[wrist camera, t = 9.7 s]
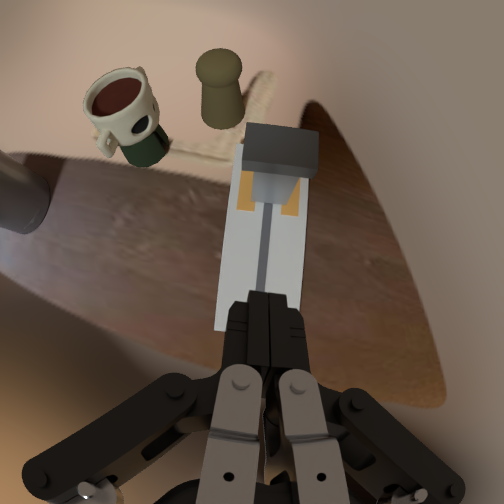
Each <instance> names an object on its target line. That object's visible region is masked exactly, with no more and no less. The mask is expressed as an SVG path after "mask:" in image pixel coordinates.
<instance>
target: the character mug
mask: <svg viewBox="0 0 504 504" xmlns="http://www.w3.org/2000/svg"><path fill="white" fill-rule="evenodd" d="M83 110H84V113H85V114H86V116H87V117H88V118H89V119H90V120H91V122H92V123H93V124H94V126H95V127H96V128H97V129H98V131H99V132H100V135H99V138H98V140H97V143H96V145H97V148H98V149H99V150H100V151H101V152H102V153H103V154H104V155H105V156H106V157H107V158H111V157H112V156H113V155H114V153H115V150H116V148H117V146H120V148H121V150H122V152H123V154H124V156H125V157H126V159H127V160H128V162H129V163H130V164H132V165H134V166H137V167H149V166H151V165H154V164H156V163H158V162H159V161H160V160H161V159H162V158H163V157H164V156H165V154H166V152H165V151H164V149H163V146H164V142H165V143H166V145H167V146H169V141H168V136H167V135H166V133H165V132H164V130H163V129H162V127H161V126H160V125H159V124H158V122H159V107H158V103H157V101H156V99H155V97H154V96H153V94H152V90H151V87H150V85H149V83H148V78H147V76H146V74H145V71H144V69H143V68H142V67H138V68H136V69H134V68H130V67H126V68H120V69H116V70H113V71H111V72H109V73H107V74H105V75H103V76H102V77H101V78H99V79H98V80H97V81H96V82H94V84H93V85H92V86H91V87H90V89H89V90H88V91H87V93H86V95H85V98H84V101H83ZM106 142H108V143H109V145H107V143H106Z"/></svg>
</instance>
